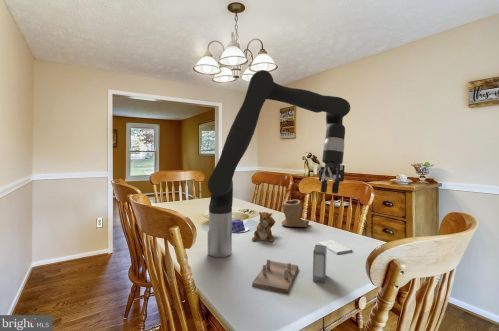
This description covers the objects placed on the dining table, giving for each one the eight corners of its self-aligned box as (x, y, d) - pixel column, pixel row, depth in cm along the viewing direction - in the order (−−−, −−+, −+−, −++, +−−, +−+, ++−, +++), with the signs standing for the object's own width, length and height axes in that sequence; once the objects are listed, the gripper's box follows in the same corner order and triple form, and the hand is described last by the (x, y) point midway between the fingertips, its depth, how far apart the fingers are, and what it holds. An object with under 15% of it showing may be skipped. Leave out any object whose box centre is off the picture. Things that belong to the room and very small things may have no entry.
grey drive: (315, 273, 86) (315, 244, 86) (326, 274, 85) (326, 245, 84) (312, 281, 80) (313, 250, 80) (324, 283, 79) (325, 252, 79)
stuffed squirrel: (251, 242, 116) (251, 213, 115) (257, 232, 130) (257, 207, 129) (272, 243, 114) (272, 215, 113) (276, 234, 127) (276, 208, 127)
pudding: (236, 225, 143) (236, 216, 142) (253, 229, 135) (253, 220, 135) (221, 230, 133) (221, 220, 133) (238, 235, 126) (238, 225, 126)
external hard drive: (336, 256, 102) (318, 245, 114) (352, 253, 105) (332, 243, 117) (336, 252, 102) (318, 241, 114) (352, 249, 105) (333, 239, 117)
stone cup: (280, 228, 137) (280, 201, 136) (282, 222, 148) (283, 197, 148) (308, 230, 133) (309, 202, 132) (309, 224, 145) (309, 198, 144)
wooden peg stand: (268, 263, 93) (268, 252, 93) (298, 268, 89) (298, 257, 89) (252, 286, 77) (252, 272, 77) (287, 293, 73) (287, 279, 73)
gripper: (316, 151, 103) (311, 191, 101) (334, 146, 89) (329, 192, 87) (332, 154, 104) (328, 193, 103) (353, 150, 90) (348, 195, 89)
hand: (328, 193), depth 95 cm, fingers open, 8 cm apart
